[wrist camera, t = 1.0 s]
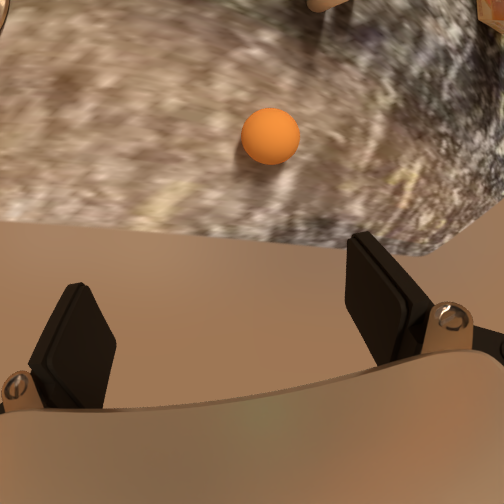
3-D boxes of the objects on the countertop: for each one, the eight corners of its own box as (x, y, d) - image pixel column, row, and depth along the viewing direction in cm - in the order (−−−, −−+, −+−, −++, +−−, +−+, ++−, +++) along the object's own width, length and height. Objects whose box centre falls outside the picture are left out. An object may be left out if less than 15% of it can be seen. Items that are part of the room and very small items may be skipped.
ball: (230, 148, 34) (236, 161, 28) (248, 98, 31) (258, 101, 26) (279, 163, 35) (294, 179, 30) (298, 116, 33) (316, 124, 28)
